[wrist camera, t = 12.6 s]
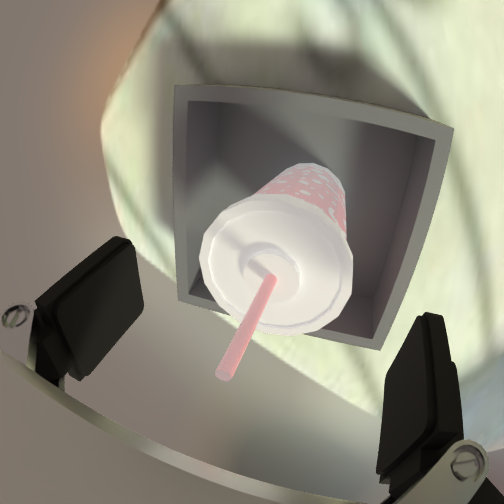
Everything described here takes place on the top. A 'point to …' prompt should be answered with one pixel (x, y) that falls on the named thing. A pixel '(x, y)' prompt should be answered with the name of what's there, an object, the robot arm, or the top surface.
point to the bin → (321, 153)
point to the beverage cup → (280, 258)
